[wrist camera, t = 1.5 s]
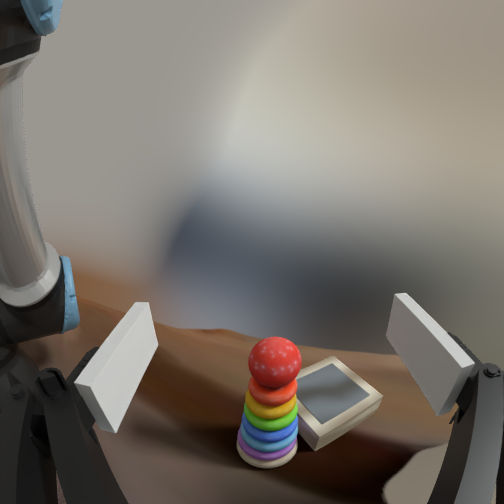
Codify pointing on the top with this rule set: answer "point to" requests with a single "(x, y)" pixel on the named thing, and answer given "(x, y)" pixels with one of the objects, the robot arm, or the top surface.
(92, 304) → the top surface
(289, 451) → the stacking toy
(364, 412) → the plinth
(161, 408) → the top surface
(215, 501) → the top surface
